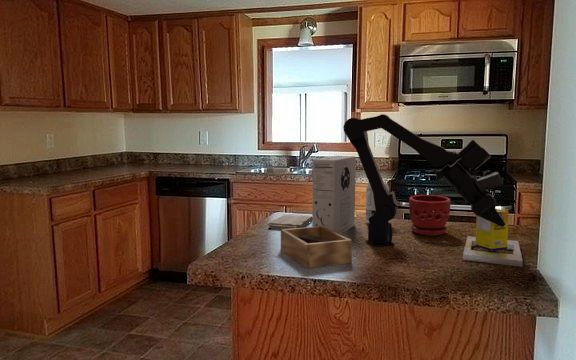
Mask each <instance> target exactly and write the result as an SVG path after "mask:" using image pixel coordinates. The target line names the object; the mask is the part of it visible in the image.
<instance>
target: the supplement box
mask: <svg viewBox="0 0 576 360" xmlns="http://www.w3.org/2000/svg"><path fill="white" fill-rule="evenodd" d="M495 209H496V210H497V212H498V213H499V215H500V217H501V218H502V220H503V221H504V223H505V226H503V227H501V226H499V225H497V224H495V223H493V222H491V221H488V220H486V219H484V218H482V217H479V216H476V215H475V216H476V218H475V221H476V222H475V237H476V246H475V247H476V248H479V249H482V250H486V251H488V252H496V251H497V252H498V251H505V250H506V251H507V250H508V249H507V241H508V240H509V239H508V237H509V215H510V212H509V210H505V209H504V210H503V209H500V208H495Z"/></svg>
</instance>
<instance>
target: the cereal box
mask: <svg viewBox="0 0 576 360" xmlns="http://www.w3.org/2000/svg"><path fill="white" fill-rule="evenodd" d="M356 158H357V157H356V156H355V155H332V156H325V157H321V158H320V157H319V158H315V159H314V158H313V159H312V194H311V195H312V197H311V198H312V199H311V200H312V201H311V202H312V203H311V205H312V209H311V210H312V211H311V213H312V215H311V216H312V222H311V223H312V224H311V227H316V226H323V227H325V228H327V229H329V230H331V231H334V232H336V233H338V234H340V235H342V234H343V233H345V232H347V231H348V230H349V229H352V228H354V227H355V223H356V222H355V219H356V218H355V217H356V216H355V214H356V206H355V205H356V204H355V203H356V168H357V166H356V165H357V163H356V162H357V159H356Z"/></svg>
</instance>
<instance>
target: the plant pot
mask: <svg viewBox="0 0 576 360" xmlns="http://www.w3.org/2000/svg"><path fill="white" fill-rule="evenodd" d="M408 199H409V200H408V211H409V217H410V220H411V223H412V224H411V225H410V229H411V230H412V231H413V232H414V233H416V234H418V235H422V236H440V235H443V234H445V233H447V229H448V228H447V226H446V224H447V222H448V220H449V217H450V214H451V198H449V197H447V196H443V195H437V194H436V195H435V194H416V195H412V196H410V197H409V198H408Z"/></svg>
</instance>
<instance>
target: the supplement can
mask: <svg viewBox="0 0 576 360" xmlns="http://www.w3.org/2000/svg"><path fill="white" fill-rule="evenodd" d="M383 182H384V185H385V187H386V189H387V190H388V191H389V192H390V186H389V184H388V182H385V181H383ZM365 189H366V190H365V192H366V193H365V223H367V225H368V223H369V218H370V216H371V215H372V214H373V213H374V212H375V211H376V209H375V204H374V196H373V191H372V189H371V186H370V183H369V181H368V182H367V184H366V186H365Z"/></svg>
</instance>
